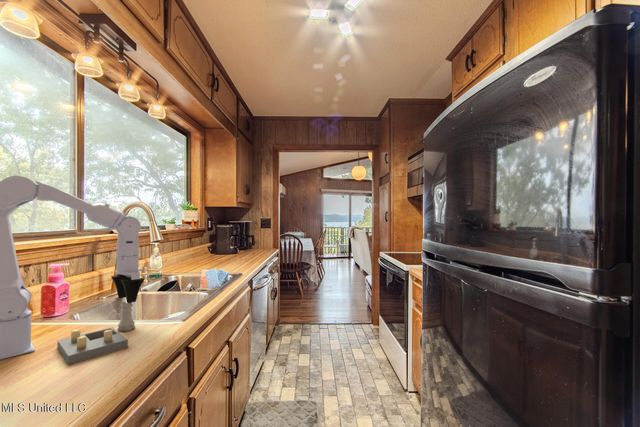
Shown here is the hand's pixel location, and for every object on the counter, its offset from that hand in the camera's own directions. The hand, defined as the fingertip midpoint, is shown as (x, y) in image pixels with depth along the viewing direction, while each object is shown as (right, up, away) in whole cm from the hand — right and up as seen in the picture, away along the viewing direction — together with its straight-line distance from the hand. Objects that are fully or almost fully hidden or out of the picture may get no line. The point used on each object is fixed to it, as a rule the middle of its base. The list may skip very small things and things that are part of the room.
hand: (127, 299), depth 89 cm
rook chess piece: (0, -9, 0) cm, 9 cm away
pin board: (0, -9, -13) cm, 16 cm away
